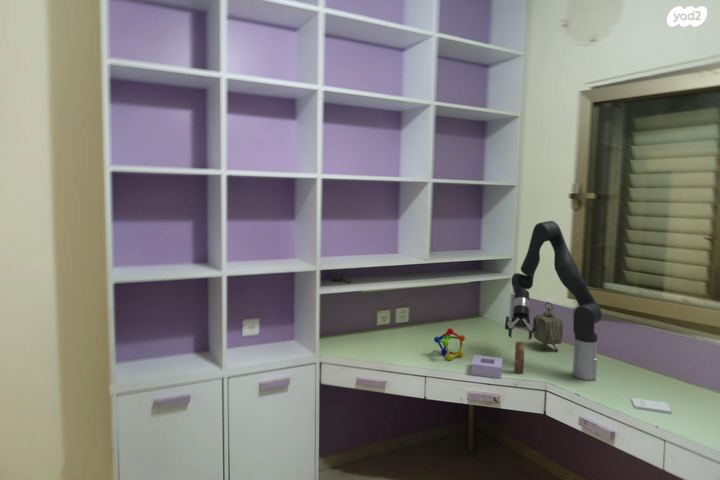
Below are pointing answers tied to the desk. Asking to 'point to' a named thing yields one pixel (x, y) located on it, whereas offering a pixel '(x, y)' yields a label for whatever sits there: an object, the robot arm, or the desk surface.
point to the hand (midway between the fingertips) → (520, 337)
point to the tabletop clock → (548, 328)
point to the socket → (487, 366)
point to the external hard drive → (651, 405)
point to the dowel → (519, 357)
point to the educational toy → (445, 343)
